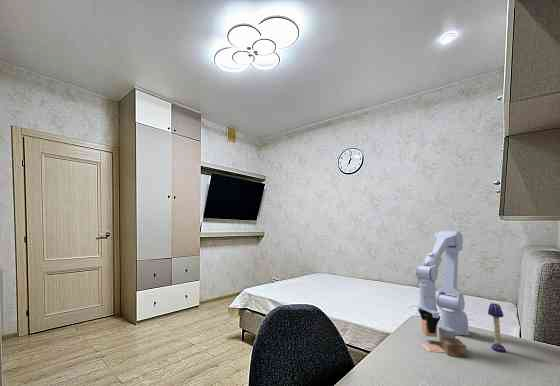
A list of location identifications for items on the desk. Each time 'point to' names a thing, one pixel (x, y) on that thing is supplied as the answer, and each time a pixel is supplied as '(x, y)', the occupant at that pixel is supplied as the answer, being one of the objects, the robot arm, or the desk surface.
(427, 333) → the terracotta block
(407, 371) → the desk surface
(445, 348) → the walnut base block
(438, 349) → the terracotta swatch tile
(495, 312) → the toy lamp
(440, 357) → the desk surface
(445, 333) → the slate grey block
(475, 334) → the desk surface
